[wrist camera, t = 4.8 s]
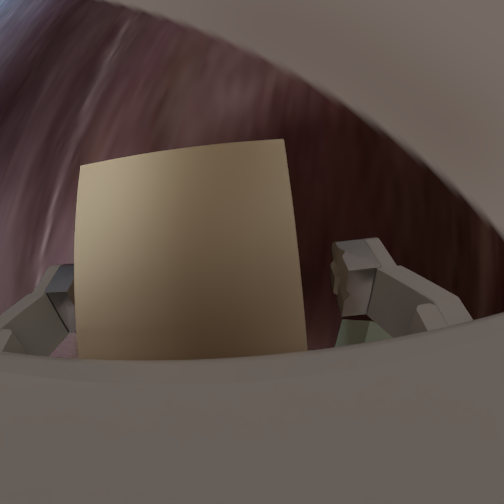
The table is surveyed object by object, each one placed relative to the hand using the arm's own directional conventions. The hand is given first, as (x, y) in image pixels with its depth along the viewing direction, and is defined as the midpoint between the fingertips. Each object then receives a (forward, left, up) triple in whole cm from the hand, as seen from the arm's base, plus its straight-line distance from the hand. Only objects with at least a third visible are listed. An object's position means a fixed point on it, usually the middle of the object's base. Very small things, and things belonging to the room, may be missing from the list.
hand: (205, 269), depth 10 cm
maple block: (0, 0, -5) cm, 5 cm away
